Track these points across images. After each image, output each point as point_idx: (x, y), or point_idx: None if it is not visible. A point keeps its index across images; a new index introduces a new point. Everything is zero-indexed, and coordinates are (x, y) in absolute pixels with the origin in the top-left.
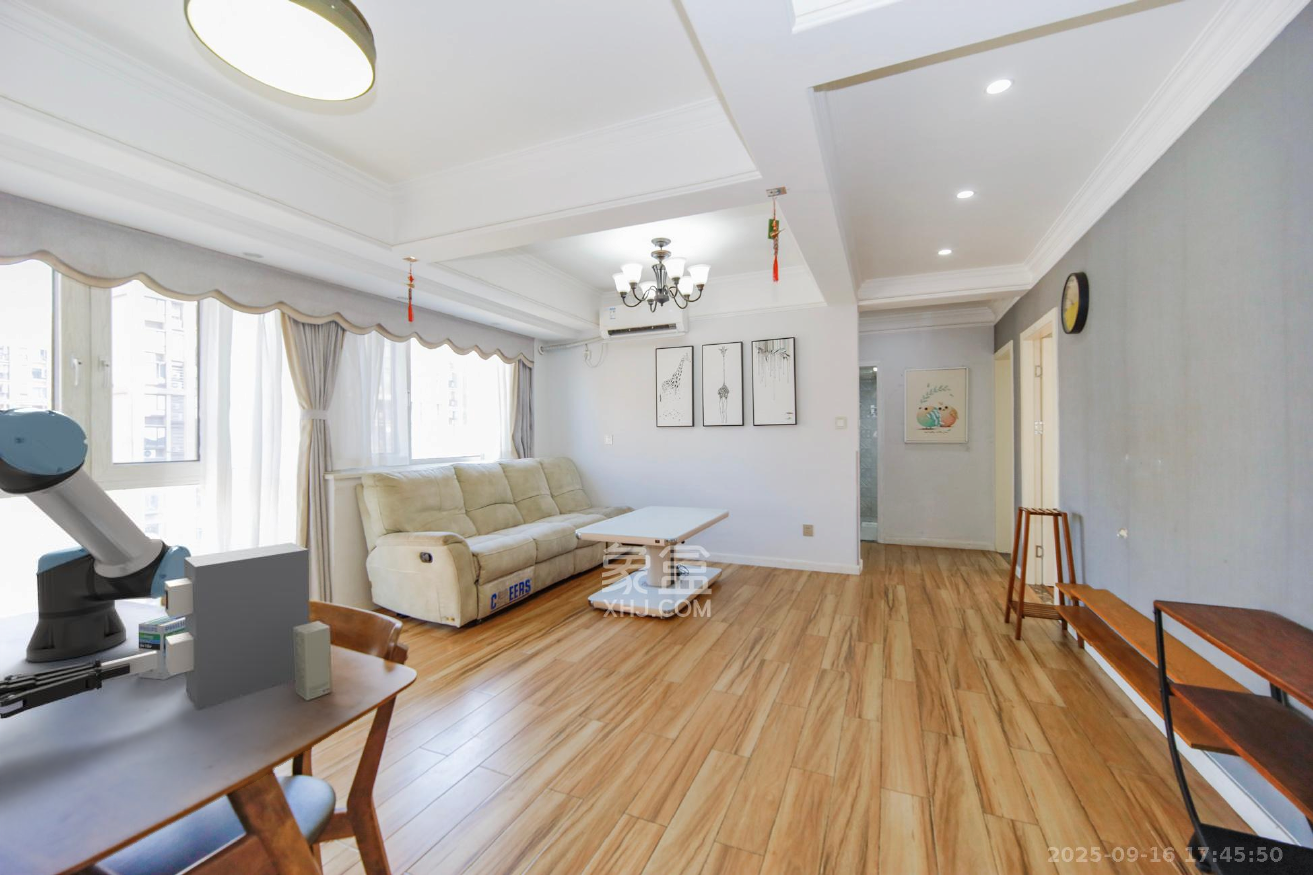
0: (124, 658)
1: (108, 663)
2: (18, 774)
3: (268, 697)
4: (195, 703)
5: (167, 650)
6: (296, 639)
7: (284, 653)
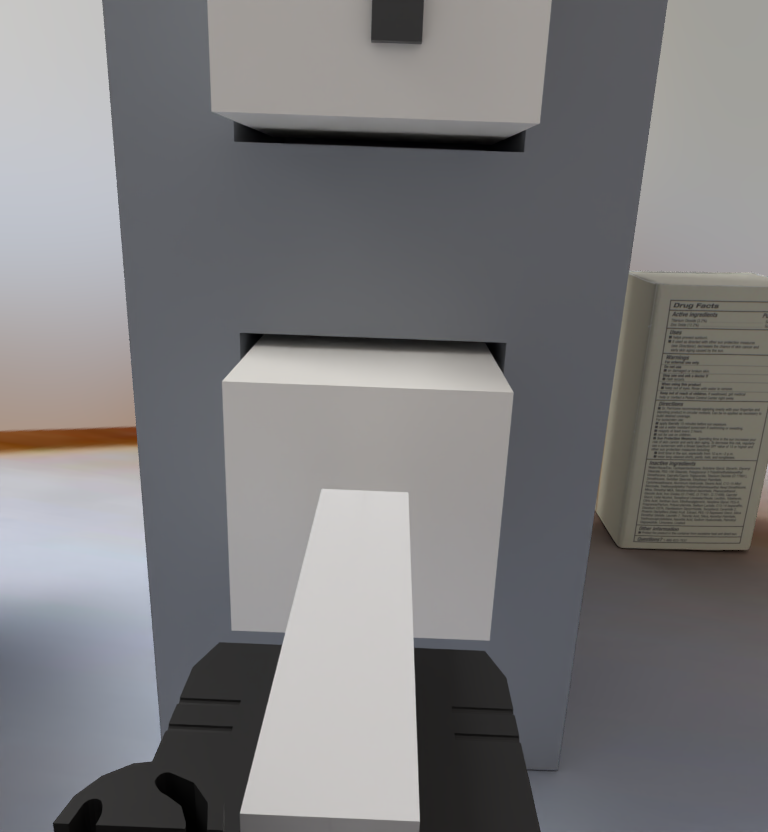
0: (323, 624)
1: (378, 749)
2: None
3: (617, 595)
4: None
5: (326, 482)
6: (696, 330)
7: None
